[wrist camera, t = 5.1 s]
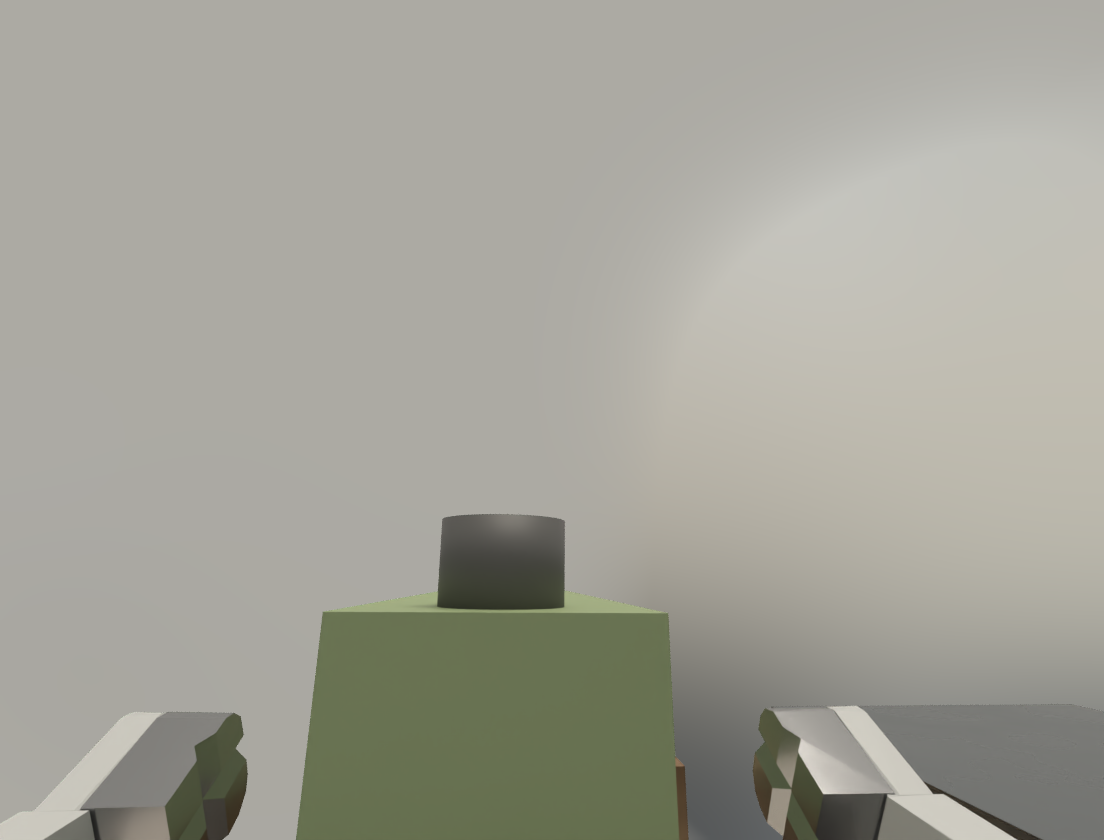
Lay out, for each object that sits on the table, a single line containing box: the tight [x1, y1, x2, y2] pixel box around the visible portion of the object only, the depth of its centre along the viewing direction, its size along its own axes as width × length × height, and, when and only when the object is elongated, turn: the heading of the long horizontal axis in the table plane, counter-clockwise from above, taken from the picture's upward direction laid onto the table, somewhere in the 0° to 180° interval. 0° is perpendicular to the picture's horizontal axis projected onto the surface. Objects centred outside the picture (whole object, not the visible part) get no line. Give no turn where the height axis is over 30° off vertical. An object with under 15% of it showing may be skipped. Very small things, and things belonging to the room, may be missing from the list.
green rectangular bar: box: [296, 514, 679, 840], centre depth 15 cm, size 4×19×5 cm, turn 4°
